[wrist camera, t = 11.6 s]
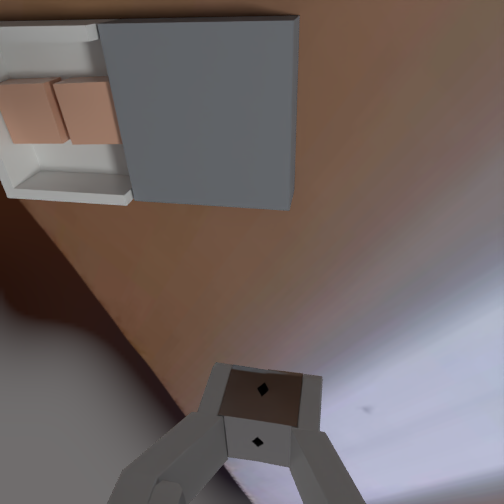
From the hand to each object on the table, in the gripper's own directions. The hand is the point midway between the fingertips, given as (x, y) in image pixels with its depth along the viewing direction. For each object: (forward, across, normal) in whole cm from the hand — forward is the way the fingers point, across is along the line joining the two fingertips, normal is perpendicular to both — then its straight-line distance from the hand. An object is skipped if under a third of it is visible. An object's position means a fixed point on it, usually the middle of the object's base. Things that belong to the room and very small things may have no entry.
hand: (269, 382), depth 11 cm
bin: (+27, +22, 0) cm, 35 cm away
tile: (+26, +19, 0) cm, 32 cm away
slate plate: (+27, +9, 0) cm, 29 cm away
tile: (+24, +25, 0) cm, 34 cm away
